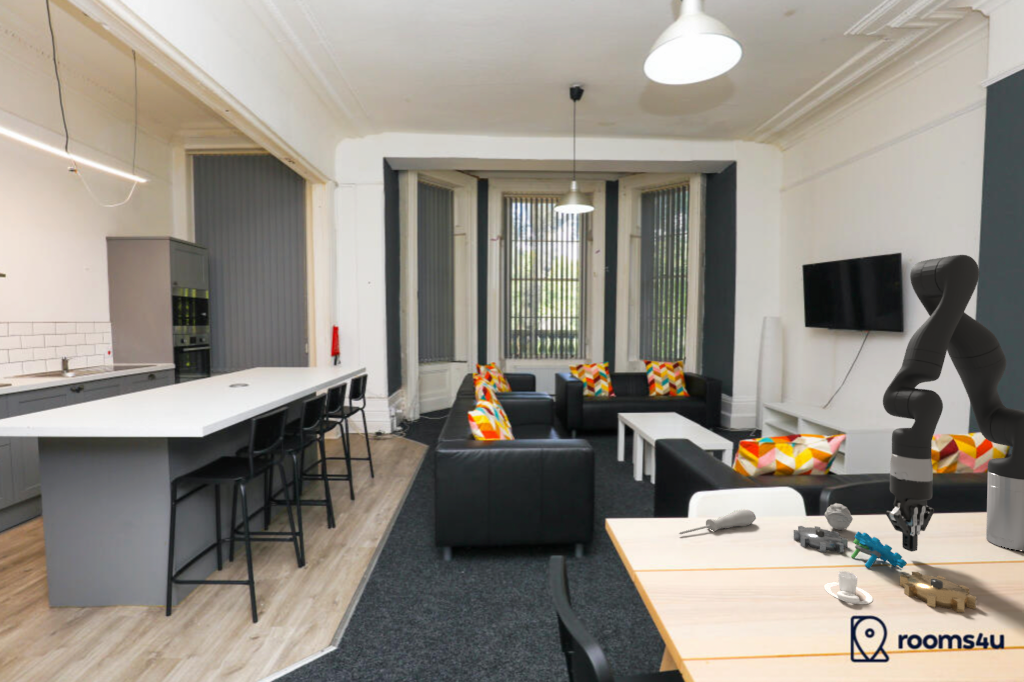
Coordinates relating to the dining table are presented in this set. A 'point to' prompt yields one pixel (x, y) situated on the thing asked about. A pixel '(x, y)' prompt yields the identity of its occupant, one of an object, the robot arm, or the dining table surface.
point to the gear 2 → (876, 550)
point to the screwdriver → (728, 521)
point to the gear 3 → (937, 591)
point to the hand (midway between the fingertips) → (909, 549)
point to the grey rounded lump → (838, 516)
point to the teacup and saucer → (848, 589)
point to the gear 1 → (820, 539)
